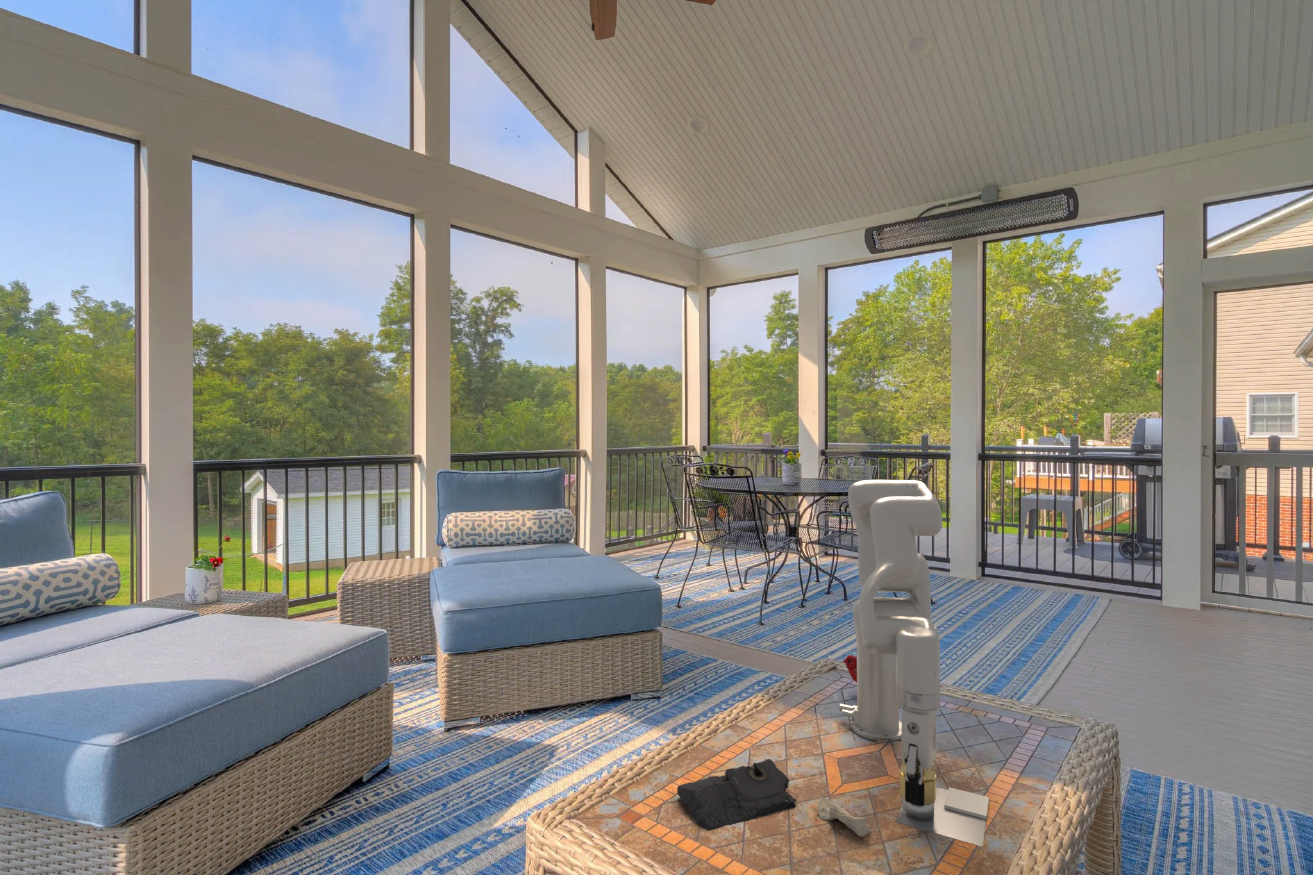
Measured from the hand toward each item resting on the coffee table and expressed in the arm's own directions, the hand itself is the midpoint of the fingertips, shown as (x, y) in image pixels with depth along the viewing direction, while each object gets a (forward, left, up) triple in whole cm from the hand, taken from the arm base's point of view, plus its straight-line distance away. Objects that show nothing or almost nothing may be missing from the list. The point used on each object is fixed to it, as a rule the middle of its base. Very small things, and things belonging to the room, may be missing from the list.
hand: (917, 793), depth 120 cm
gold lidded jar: (0, 0, 0) cm, 0 cm away
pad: (+8, +7, -3) cm, 11 cm away
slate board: (+4, +3, -4) cm, 7 cm away
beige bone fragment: (-11, -10, -5) cm, 16 cm away
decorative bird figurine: (-19, +54, -5) cm, 57 cm away
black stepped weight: (-32, -11, -5) cm, 34 cm away
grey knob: (0, 0, -3) cm, 3 cm away
